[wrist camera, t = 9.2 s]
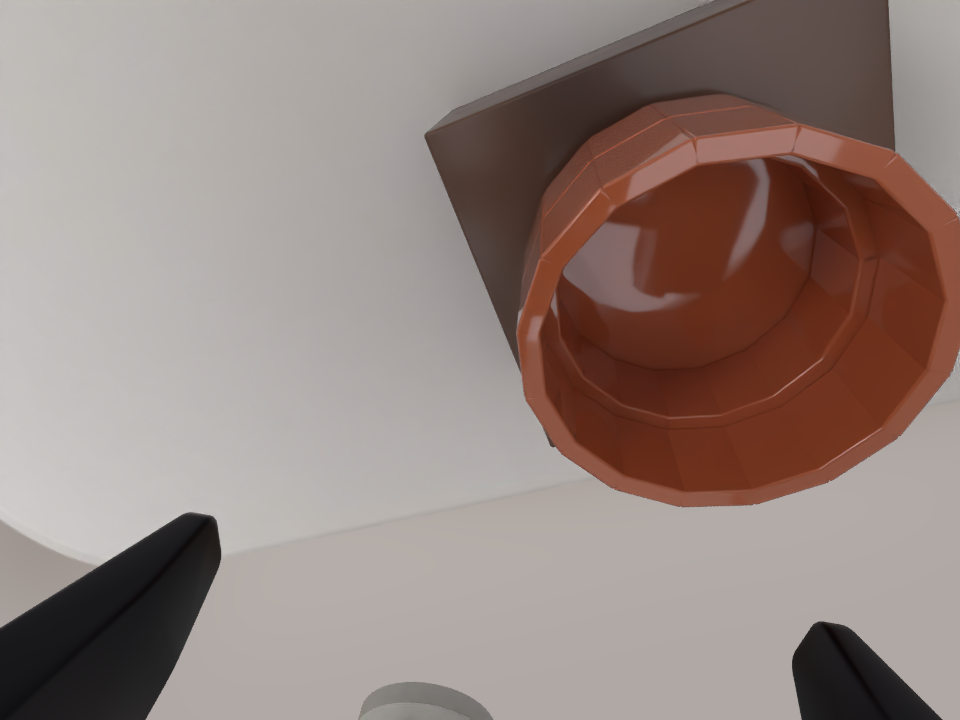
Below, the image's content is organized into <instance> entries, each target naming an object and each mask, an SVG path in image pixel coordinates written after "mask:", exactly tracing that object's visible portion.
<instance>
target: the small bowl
mask: <svg viewBox="0 0 960 720" xmlns="http://www.w3.org/2000/svg"><path fill="white" fill-rule="evenodd" d="M516 336H517V344H518V351H519V359H520V367H521V375H522V383H523V391H524V396H525V398H526V401H527V403H528V404H529V406H530V408H531V409H532V411H533V412H534V414H535V415H536V417H537V418H538V420H539V422H540V423H541V425H542V426H543V428H544V429H545V431H546V432H547V434H548V435H549V437H550V439H551V440H552V442H553V443H554V445H555V446H556V448H557V449H558V451H559V452H561V454H562V455H564V456H565V457H567V458H568V459H570V460H571V461H573V462H574V463H575V464H577V465H578V466H580V467H581V468H583V469H584V470H586V471H587V472H589V473H590V474H592V475H593V476H595V477H596V478H597V479H599V480H600V481H602V482H603V483H605V484H606V485H608V486H609V487H611V488H614V489H615V490H618V491H621V492H625V493H629V494H633V495H636V496H640V497H644V498H648V499H652V500H655V501H659V502H663V503H666V504H670V505H674V506H678V507H680V506H681V507H705V506H706V507H707V506H741V505H753V504H760V503H763V502H766V501H769V500H772V499H776V498H779V497H782V496H785V495H789V494H792V493H796V492H799V491H802V490H805V489H809V488H812V487H815V486H818V485H822V484H825V483H828V482H829V480H830V481H832V480H834V479H835V478H837V477H838V476H840V475H842V474H843V473H845V472H846V471H848V470H849V469H851V468H853V467H854V466H856V465H857V464H859V463H860V462H862V461H863V460H865V459H867V458H868V457H870V456H871V455H873V454H874V453H876V452H877V451H879V450H880V449H882V448H883V447H885V446H887V445H888V444H890V443H891V442H893V441H894V440H896V439H897V438H898V436H901V434H903V432H904V431H905V430H906V428H907V427H908V426H909V425H910V424H911V422H912V421H913V420H914V419H915V418H916V416H917V415H918V414H919V413H920V412H921V410H922V409H923V408H924V407H925V405H926V404H927V403H928V402H929V401H930V399H931V398H932V397H933V396H934V394H935V393H936V392H937V391H938V390H939V388H940V387H941V386H942V385H943V383H944V382H945V381H946V380H947V379H948V377H949V376H950V372H952V371H953V368H954V365H955V362H956V358H957V355H958V352H959V348H960V220H959V217H958V216H957V214H956V211H955V210H954V209H953V208H952V207H951V206H950V205H949V204H948V203H947V202H946V201H945V200H944V199H943V198H942V197H941V196H940V195H939V194H938V193H937V192H936V191H935V190H934V189H933V188H932V187H931V186H930V185H929V184H928V183H927V182H926V181H925V180H924V179H923V178H922V177H921V176H920V175H919V174H918V173H917V172H916V171H915V170H914V169H913V168H912V167H911V166H910V165H909V164H908V163H907V162H906V161H905V160H904V159H903V158H902V157H901V156H900V155H899V154H898V153H896V152H894V151H893V150H891V149H888V148H885V147H883V146H880V145H877V144H874V143H872V142H869V141H866V140H863V139H861V138H858V137H855V136H852V135H850V134H847V133H844V132H841V131H839V130H836V129H833V128H830V127H827V126H825V125H822V124H819V123H816V122H814V121H811V120H808V119H805V118H803V117H800V116H797V115H794V114H792V113H789V112H786V111H782V110H779V109H776V108H772V107H769V106H765V105H762V104H759V103H755V102H752V101H748V100H745V99H742V98H738V97H735V96H731V95H728V94H725V95H723V94H713V95H706V96H699V97H692V98H685V99H678V100H671V101H664V102H656V103H652V104H651V106H650V105H646V106H645V107H643V108H641V109H639V110H638V111H636V112H634V113H632V114H631V115H629V116H627V117H625V118H624V119H622V120H620V121H618V122H617V123H615V124H613V125H611V126H610V127H608V128H606V129H605V130H603V131H601V132H599V133H598V134H596V135H594V136H592V137H591V138H589V139H588V140H587V142H586V143H584V144H583V145H582V146H581V147H580V148H579V150H578V151H577V152H576V153H575V155H574V156H573V157H572V158H571V160H570V161H569V162H568V163H567V164H566V166H565V167H564V168H563V169H562V171H561V172H560V173H559V174H558V176H557V177H556V178H555V179H554V180H553V182H552V183H551V184H550V185H549V187H548V188H547V189H546V190H545V194H543V195H542V198H541V201H540V204H539V207H538V211H537V214H536V217H535V220H534V224H533V227H532V230H531V233H530V237H529V240H528V243H527V246H526V250H525V259H524V268H523V277H522V286H521V295H520V304H519V313H518V322H517V331H516Z"/></svg>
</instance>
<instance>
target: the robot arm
mask: <svg viewBox="0 0 960 720" xmlns="http://www.w3.org/2000/svg"><path fill="white" fill-rule="evenodd" d="M220 561H221V547H220V540H219V533H218V526H217V521H216V519H215V518H214V517H213V516H210V515H205V514H199V513H193V512H189V513H185V514H183V515H181V516H179V517H178V518H176V519H174V520H173V521H171V522H170V523H168V524H166V525H165V526H163V527H162V528H160V529H158V530H157V531H155V532H153V533H152V534H150V535H149V536H147V537H145V538H144V539H142V540H141V541H139V542H137V543H136V544H134V545H133V546H131V547H129V548H128V549H126V550H125V551H123V552H121V553H120V554H118V555H117V556H115V557H113V558H112V559H110V560H109V561H107V562H105V563H104V564H102V565H101V566H99V567H97V568H96V569H94V570H93V571H91V572H89V573H88V574H86V575H85V576H83V577H82V578H80V579H78V580H77V581H75V582H73V583H72V584H70V585H68V586H67V587H65V588H64V589H62V590H60V591H59V592H57V593H56V594H54V595H52V596H51V597H49V598H48V599H46V600H44V601H43V602H41V603H40V604H38V605H36V606H35V607H33V608H32V609H30V610H28V611H27V612H25V613H24V614H22V615H20V616H19V617H17V618H16V619H14V620H13V621H11V622H9V623H8V624H6V625H4V626H3V627H1V628H0V720H145V719H146V718H147V716H148V714H149V712H150V711H151V709H152V707H153V705H154V704H155V702H156V700H157V698H158V696H159V695H160V693H161V691H162V689H163V688H164V686H165V684H166V682H167V680H168V678H169V677H170V675H171V673H172V671H173V669H174V667H175V665H176V663H177V661H178V659H179V656H180V654H181V652H182V650H183V647H184V645H185V643H186V641H187V639H188V636H189V634H190V632H191V630H192V627H193V625H194V623H195V620H196V618H197V616H198V614H199V611H200V609H201V607H202V604H203V602H204V600H205V598H206V596H207V593H208V591H209V589H210V586H211V584H212V582H213V579H214V577H215V575H216V573H217V570H218V568H219V565H220ZM792 671H793V676H794V682H795V687H796V692H797V697H798V703H799V707H800V713H801V718H802V720H942V719H941V718H940V717H939V716H938V715H937V714H936V713H935V712H934V711H933V710H932V709H931V708H930V707H929V706H928V705H927V704H926V703H925V702H924V701H923V700H922V699H921V698H920V697H919V696H918V695H917V694H916V693H915V692H914V691H913V690H912V689H911V688H910V687H909V686H908V685H907V684H906V683H905V682H904V681H903V680H902V679H901V678H900V677H899V676H898V675H897V674H896V673H895V672H894V671H893V670H892V669H891V668H890V667H889V666H888V665H887V664H886V663H885V662H884V661H883V660H882V659H881V658H880V657H879V656H878V655H877V654H876V653H875V652H874V651H873V650H872V649H871V648H870V647H869V646H868V645H867V644H866V643H865V642H863V640H862V639H861V638H860V637H859V636H857V634H856V633H855V632H853V631H852V630H851V629H849V628H848V627H846V626H844V625H839V624H834V623H828V622H817V623H815V624H813V626H812V627H811V628H810V630H809V631H808V633H807V634H806V636H805V637H804V639H803V640H802V642H801V643H800V645H799V646H798V648H797V649H796V651H795V653H794V655H793V659H792Z"/></svg>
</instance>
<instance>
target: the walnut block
mask: <svg viewBox="0 0 960 720" xmlns="http://www.w3.org/2000/svg"><path fill="white" fill-rule="evenodd" d="M713 94H723V95H725V94H728V95H731V96H735V97H738V98H742V99H745V100H748V101H752V102H755V103H759V104H762V105H765V106H769V107H772V108H776V109H779V110H782V111H786V112H789V113H792V114H794V115H797V116H800V117H803V118H805V119H808V120H811V121H814V122H816V123H819V124H822V125H825V126H827V127H830V128H833V129H836V130H839V131H841V132H844V133H847V134H850V135H852V136H855V137H858V138H861V139H863V140H866V141H869V142H872V143H874V144H877V145H880V146H883V147H885V148H888V149H891V150H893V151H894V152H895V135H894V113H893V92H892V71H891V49H890V28H889V7H888V0H714V1H712V2H709V3H707V4H705V5H702V6H700V7H697V8H695V9H693V10H690V11H688V12H685V13H683V14H681V15H678V16H676V17H674V18H671V19H669V20H666V21H664V22H662V23H659V24H657V25H654V26H652V27H650V28H647V29H645V30H643V31H640V32H638V33H635V34H633V35H631V36H628V37H626V38H623V39H621V40H619V41H616V42H614V43H612V44H609V45H607V46H604V47H602V48H600V49H597V50H595V51H592V52H590V53H588V54H585V55H583V56H581V57H578V58H576V59H573V60H571V61H569V62H566V63H564V64H561V65H559V66H557V67H554V68H552V69H550V70H547V71H545V72H542V73H540V74H538V75H535V76H533V77H530V78H528V79H526V80H523V81H521V82H519V83H516V84H514V85H511V86H509V87H507V88H504V89H502V90H500V91H497V92H495V93H492V94H490V95H488V96H485V97H483V98H480V99H478V100H476V101H473V102H471V103H469V104H466V105H464V106H461V107H459V108H457V109H454V110H452V111H451V112H450V113H449V114H448V115H446V116H445V117H444V118H443V119H442V120H441V121H439V122H438V123H437V124H436V125H435V126H434V127H432V128H431V129H430V130H429V131H428V132H427V133H426V134H425V140H426V142H427V144H428V147H429V149H430V152H431V154H432V157H433V159H434V162H435V164H436V166H437V169H438V171H439V174H440V176H441V179H442V181H443V184H444V186H445V189H446V191H447V193H448V196H449V198H450V201H451V203H452V206H453V208H454V211H455V213H456V216H457V218H458V220H459V223H460V225H461V228H462V230H463V233H464V235H465V238H466V240H467V242H468V245H469V247H470V250H471V252H472V255H473V257H474V260H475V262H476V265H477V267H478V269H479V272H480V274H481V277H482V279H483V282H484V284H485V287H486V289H487V292H488V294H489V296H490V299H491V301H492V304H493V306H494V309H495V311H496V314H497V316H498V318H499V321H500V323H501V326H502V328H503V331H504V333H505V336H506V338H507V341H508V343H509V345H510V348H511V350H512V353H513V355H514V358H515V360H516V363H517V365H518V368H519V370H520V372H521V367H520V359H519V351H518V344H517V336H516V331H517V322H518V313H519V304H520V295H521V286H522V277H523V268H524V259H525V250H526V246H527V243H528V240H529V237H530V233H531V230H532V227H533V224H534V220H535V217H536V214H537V211H538V207H539V204H540V201H541V198H542V195H543V194H545V190H546V189H547V188H548V187H549V185H550V184H551V183H552V182H553V180H554V179H555V178H556V177H557V176H558V174H559V173H560V172H561V171H562V169H563V168H564V167H565V166H566V164H567V163H568V162H569V161H570V160H571V158H572V157H573V156H574V155H575V153H576V152H577V151H578V150H579V148H580V147H581V146H582V145H583V144H584V143H586V142H587V140H588V139H589V138H591V137H592V136H594V135H596V134H598V133H599V132H601V131H603V130H605V129H606V128H608V127H610V126H611V125H613V124H615V123H617V122H618V121H620V120H622V119H624V118H625V117H627V116H629V115H631V114H632V113H634V112H636V111H638V110H639V109H641V108H643V107H645V106H646V105H650V106H651V104H652V103H656V102H664V101H671V100H678V99H685V98H692V97H699V96H706V95H713ZM543 429H544V428H543ZM544 431H545V429H544ZM545 434H546V436H547V439H548V441H549V443H550V446H551V447H556V446H555V445H554V443H553V442H552V440H551V439H550V437H549V435H548V434H547V432H546V431H545Z"/></svg>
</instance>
